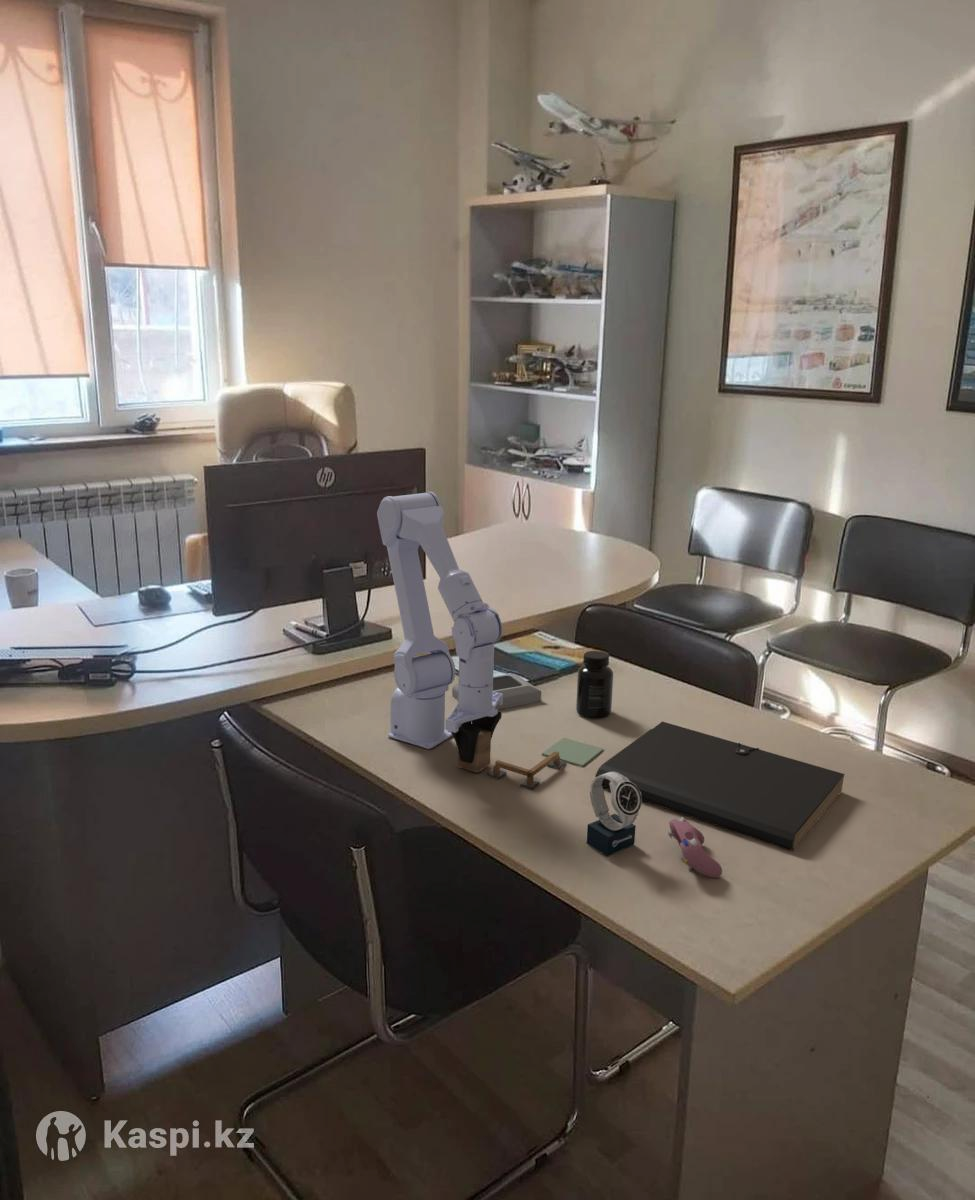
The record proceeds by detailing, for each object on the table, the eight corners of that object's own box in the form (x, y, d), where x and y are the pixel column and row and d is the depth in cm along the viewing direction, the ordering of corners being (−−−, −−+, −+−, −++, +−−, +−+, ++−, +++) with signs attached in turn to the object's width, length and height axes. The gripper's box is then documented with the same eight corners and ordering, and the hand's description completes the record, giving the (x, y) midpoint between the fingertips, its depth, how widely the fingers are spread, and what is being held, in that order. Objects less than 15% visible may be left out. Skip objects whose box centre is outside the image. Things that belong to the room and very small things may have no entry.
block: (457, 766, 165) (458, 733, 164) (470, 757, 169) (471, 725, 167) (477, 772, 163) (478, 739, 162) (490, 763, 167) (491, 731, 165)
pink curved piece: (676, 852, 145) (659, 815, 143) (704, 839, 145) (687, 802, 142) (696, 890, 135) (677, 851, 133) (726, 877, 135) (708, 837, 133)
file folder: (845, 771, 160) (793, 833, 142) (842, 794, 161) (790, 858, 143) (662, 719, 179) (595, 767, 160) (661, 739, 180) (594, 790, 161)
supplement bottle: (617, 711, 191) (620, 653, 187) (601, 722, 185) (605, 663, 182) (585, 703, 194) (588, 646, 191) (569, 714, 189) (572, 655, 185)
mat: (541, 754, 172) (541, 753, 171) (563, 739, 178) (563, 737, 178) (582, 766, 167) (582, 765, 167) (603, 750, 174) (603, 748, 174)
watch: (616, 862, 139) (621, 792, 136) (578, 838, 145) (582, 770, 142) (644, 850, 142) (649, 781, 139) (605, 827, 148) (610, 761, 145)
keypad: (541, 685, 194) (473, 697, 187) (540, 703, 195) (473, 715, 188) (518, 670, 202) (452, 680, 195) (517, 686, 203) (452, 697, 196)
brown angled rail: (486, 775, 164) (486, 761, 163) (521, 751, 173) (521, 738, 172) (532, 790, 159) (533, 776, 158) (565, 764, 168) (566, 751, 167)
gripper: (471, 700, 154) (470, 779, 158) (519, 673, 165) (516, 747, 169) (435, 690, 157) (434, 767, 161) (484, 664, 169) (482, 737, 173)
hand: (474, 756), depth 166 cm, fingers closed on block, 4 cm apart
